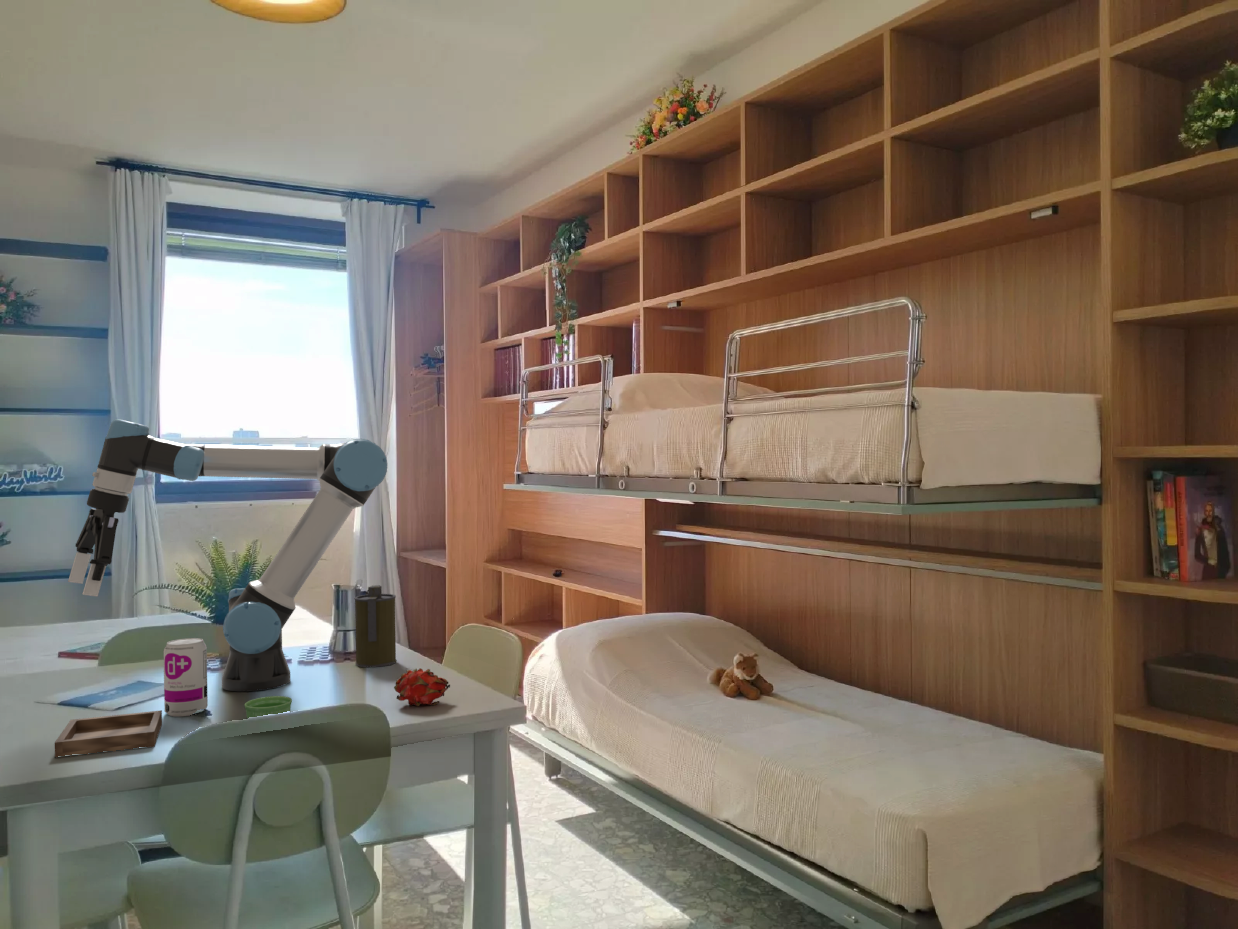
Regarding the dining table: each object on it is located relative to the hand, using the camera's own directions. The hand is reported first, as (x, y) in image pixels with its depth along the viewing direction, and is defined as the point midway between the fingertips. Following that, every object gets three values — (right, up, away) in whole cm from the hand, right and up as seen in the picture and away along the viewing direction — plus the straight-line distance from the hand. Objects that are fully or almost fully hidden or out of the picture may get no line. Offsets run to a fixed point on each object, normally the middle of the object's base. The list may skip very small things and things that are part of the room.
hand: (82, 589), depth 194 cm
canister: (+50, -26, +45) cm, 72 cm away
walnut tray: (+17, -26, -19) cm, 37 cm away
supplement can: (+22, -26, 0) cm, 34 cm away
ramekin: (+43, -26, -9) cm, 51 cm away
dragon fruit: (+71, -26, +4) cm, 76 cm away
